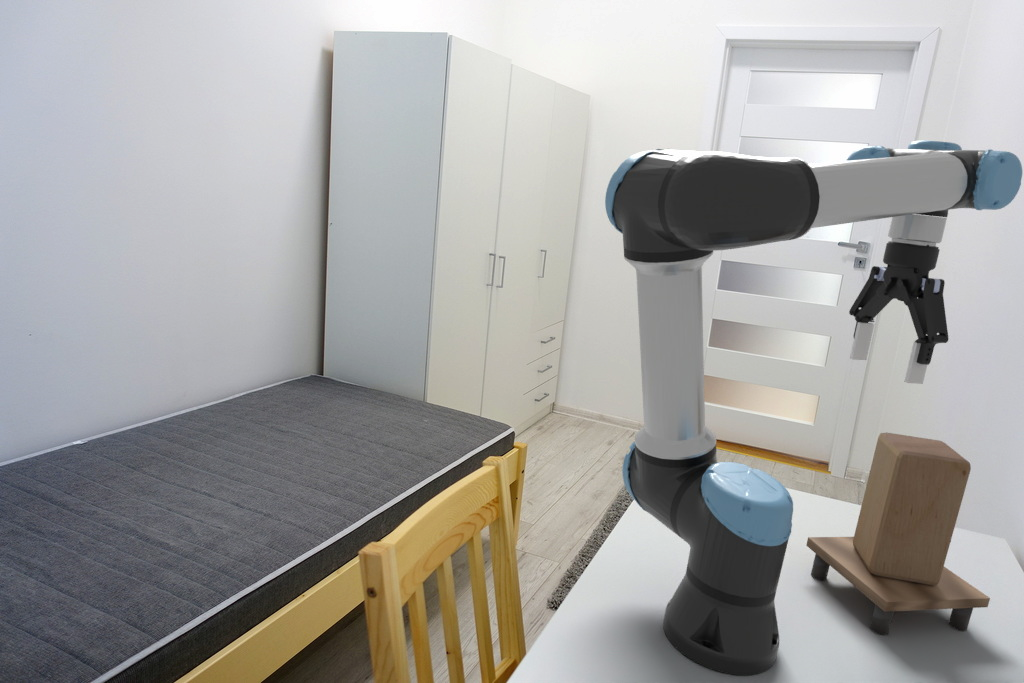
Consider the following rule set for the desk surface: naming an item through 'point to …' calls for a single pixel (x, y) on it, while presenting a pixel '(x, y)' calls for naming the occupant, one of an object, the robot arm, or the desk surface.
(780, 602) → the desk surface
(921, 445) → the wooden block
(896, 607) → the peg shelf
